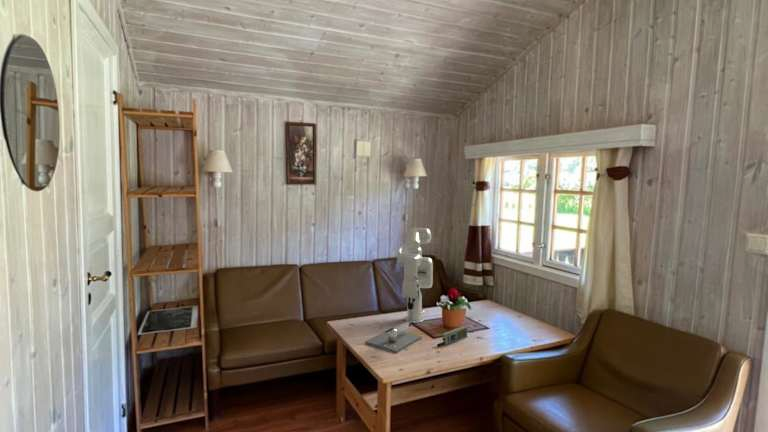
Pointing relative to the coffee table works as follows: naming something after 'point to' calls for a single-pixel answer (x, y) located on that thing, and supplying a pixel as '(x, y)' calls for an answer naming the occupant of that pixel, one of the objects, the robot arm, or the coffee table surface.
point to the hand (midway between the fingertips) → (410, 309)
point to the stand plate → (402, 342)
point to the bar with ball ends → (396, 331)
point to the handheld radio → (454, 335)
